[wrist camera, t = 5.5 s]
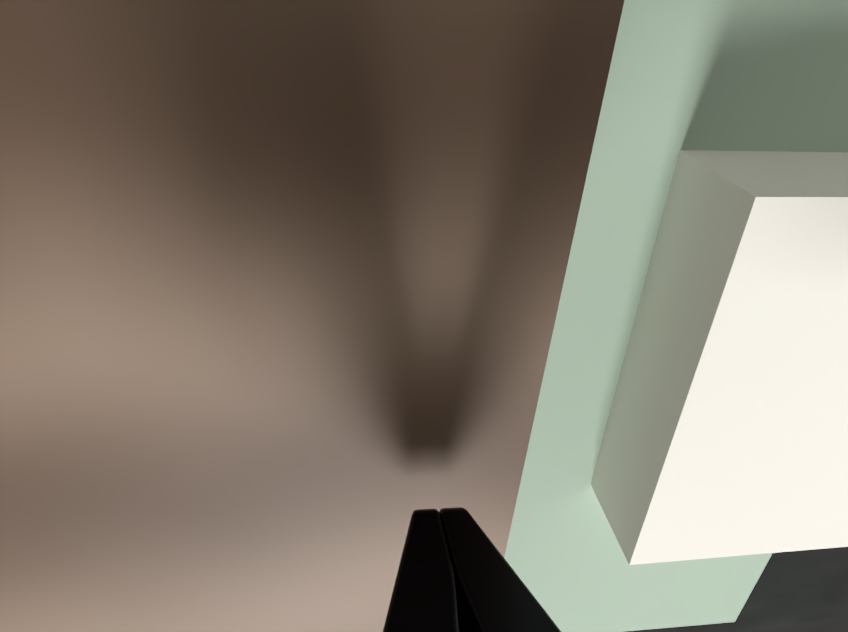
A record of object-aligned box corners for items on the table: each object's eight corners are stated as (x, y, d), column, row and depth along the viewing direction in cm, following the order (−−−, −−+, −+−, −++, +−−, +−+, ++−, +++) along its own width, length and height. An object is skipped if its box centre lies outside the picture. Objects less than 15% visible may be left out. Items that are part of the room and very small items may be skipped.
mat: (728, 611, 22) (734, 622, 21) (443, 634, 20) (445, 646, 20) (1165, -207, 10) (1194, -212, 10) (587, -295, 9) (598, -303, 8)
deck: (437, 616, 20) (460, 760, 16) (19, 649, 18) (-53, 819, 14) (553, -206, 9) (685, -282, 6) (-417, -329, 7) (-1038, -546, 4)
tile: (628, 565, 15) (590, 484, 17) (858, 545, 15) (794, 471, 18) (755, 196, 10) (680, 150, 12) (1076, 197, 11) (953, 153, 13)
